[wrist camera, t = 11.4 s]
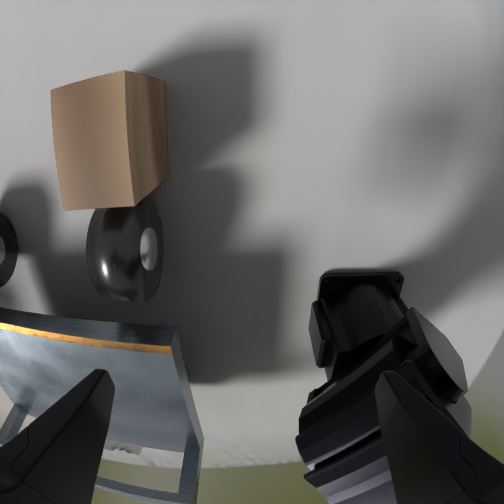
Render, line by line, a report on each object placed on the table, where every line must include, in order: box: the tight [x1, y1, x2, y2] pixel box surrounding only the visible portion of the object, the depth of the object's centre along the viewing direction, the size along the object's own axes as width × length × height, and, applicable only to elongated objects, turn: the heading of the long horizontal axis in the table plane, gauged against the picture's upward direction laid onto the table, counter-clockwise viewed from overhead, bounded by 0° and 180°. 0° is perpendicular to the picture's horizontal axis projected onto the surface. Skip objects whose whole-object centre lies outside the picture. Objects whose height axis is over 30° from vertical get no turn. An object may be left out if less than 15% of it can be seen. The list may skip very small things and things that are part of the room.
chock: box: [51, 70, 170, 211], centre depth 14 cm, size 4×6×6 cm, turn 0°
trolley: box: [0, 196, 204, 504], centre depth 17 cm, size 20×20×12 cm
